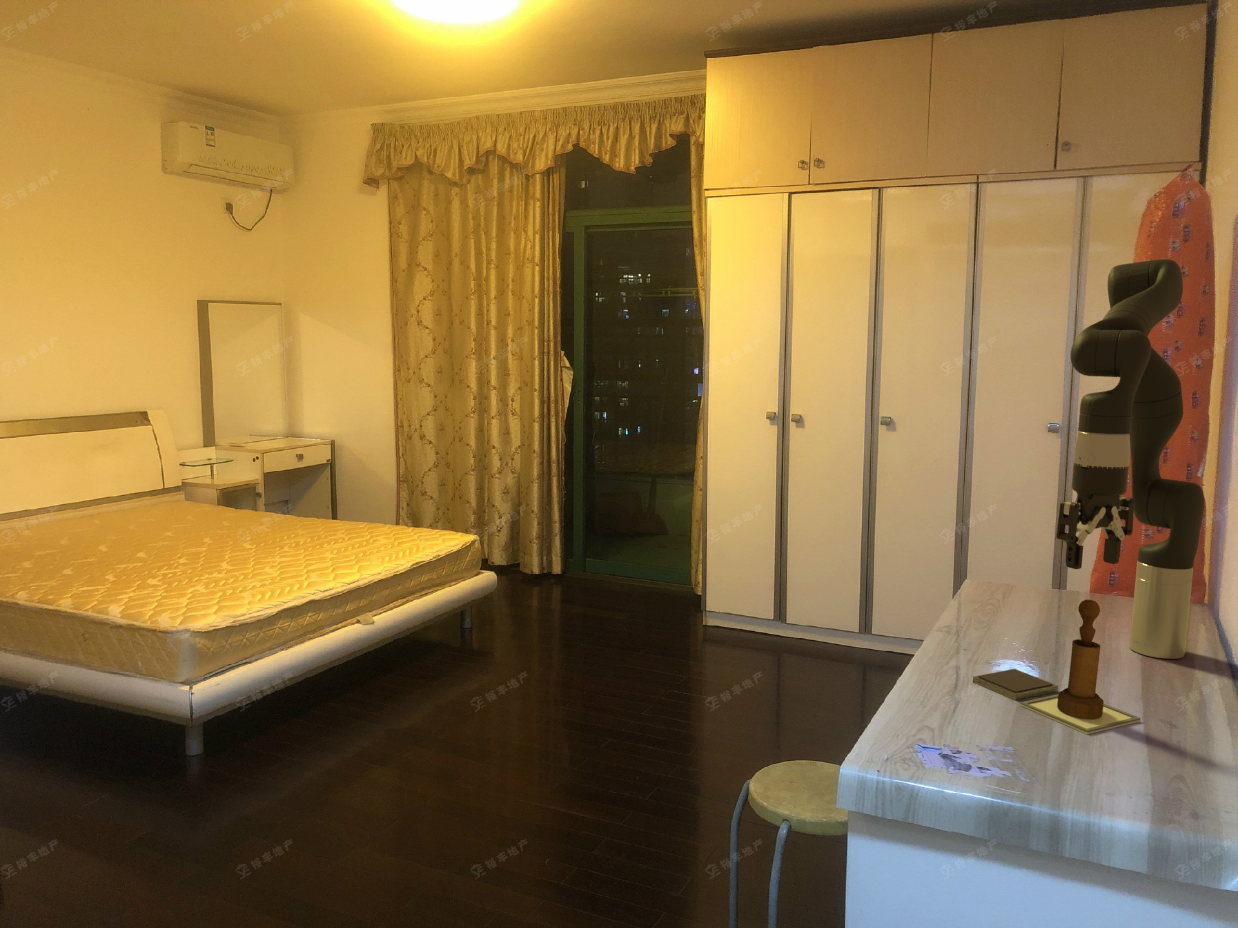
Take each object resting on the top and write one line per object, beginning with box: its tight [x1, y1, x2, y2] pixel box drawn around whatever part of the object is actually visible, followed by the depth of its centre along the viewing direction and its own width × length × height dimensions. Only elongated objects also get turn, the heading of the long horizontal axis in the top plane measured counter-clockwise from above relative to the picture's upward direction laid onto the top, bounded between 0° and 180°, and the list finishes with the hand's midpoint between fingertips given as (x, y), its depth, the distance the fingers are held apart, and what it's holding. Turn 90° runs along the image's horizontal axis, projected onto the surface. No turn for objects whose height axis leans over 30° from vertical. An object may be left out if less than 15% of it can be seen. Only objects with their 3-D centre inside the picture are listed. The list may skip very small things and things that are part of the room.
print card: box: [1019, 693, 1142, 735], centre depth 148 cm, size 12×12×1 cm
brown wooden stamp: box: [1057, 599, 1105, 719], centre depth 147 cm, size 7×6×18 cm
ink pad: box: [972, 668, 1059, 701], centre depth 159 cm, size 10×9×1 cm
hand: (1092, 565), depth 145 cm, fingers open, 8 cm apart
